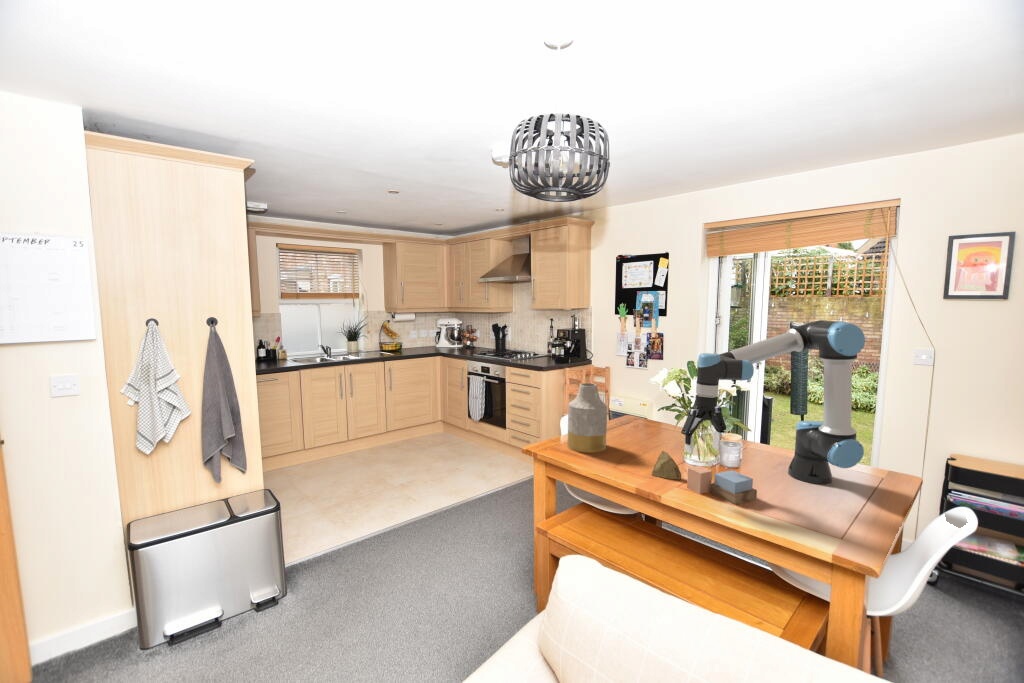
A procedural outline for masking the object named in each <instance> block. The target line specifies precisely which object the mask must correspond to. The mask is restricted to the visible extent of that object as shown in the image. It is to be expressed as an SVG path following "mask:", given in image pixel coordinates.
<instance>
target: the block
mask: <svg viewBox="0 0 1024 683" xmlns="http://www.w3.org/2000/svg"><path fill="white" fill-rule="evenodd" d="M712 476H713V471H712V470H711V469H709V468H706V467H703V466H701V465H695V466H690V467H687V480H686V481H687V482H686V483H687V484H686V489H688V490H689V491H692V492H694V493H697V494H699V495H702V494H705V493H710V484H712V478H713V477H712Z"/></svg>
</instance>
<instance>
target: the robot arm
mask: <svg viewBox="0 0 1024 683" xmlns="http://www.w3.org/2000/svg"><path fill="white" fill-rule="evenodd" d="M865 344H866V336H865V334H864V331H863V330H862V329H861V328H860V327H859V326H858V325H856V324H854V323H851V322H846V321H839V320H838V321H837V320H826V319H825V320H814V321H811V322H807V323H804V324H801V325H798V326H794V327H791V328H789V329H787V331H786V332H785V333H781V334H779V335H776V336H773V337H770V338H767V339H764V340H760V341H757V342H755V343H752V344H751V343H750V344H748V345H744V346H742V347H739V348H736V349H733V350H730V351H727V352H722V353H720V354H719V353H708V352H706V353H705V352H703V353H700V354H699V356H698V359H697V365H696V366H697V370H696V371H697V373H696V388H695V393H696V395H695V399H694V400H695V402H694V404H695V406H696V409H695V408H694V409H693V408H689V410H688V415H687V417H686V420H685V422H684V425H683V426H682V428H681V431H680V433H681V435H684V436H685V439H684V443H685V452H686V453H687V454H690V455H693V454H694V452H693V450H694V438H695V436H693V435H694V433H695V432H696V430H697V429H698V428H699V426H700V425H701V423H703V422H705V421H710V423H711V424H712V426H713V428H714V431H713V437H712V448H713V449H716V450H719V451H720V450H721V440H722V434H724V433H725V431H727V426H726V421H725V419H724V416H723V413H722V412H723V411H722V407H720V406H718V395H719V383H720V381H750V380H751V379H752V378H753V376H754V372H755V371H754V365H753V364H757V363H760V362H763V361H766V360H769V359H773V358H776V357H779V356H781V355H786V354H788V353H791V352H797V353H800V352H804V351H808V350H809V351H810V350H814V351H815V350H816V351H818V359H819V360H820V361H822V363H823V417H822V418H823V419H822V420H823V421H817V420H800V421H798V422H797V424H796V428H795V431H796V432H795V443H794V445H795V446H794V454H793V455H794V456H793V458H792V459H791V462H790V464H789V466H788V470H787V473H788V475H789V476H790V477H792V478H794V479H795V480H800V481H802V482H806V483H810V484H818V485H819V484H821V485H826V484H831V483H832V481H833V475H832V472H831V467H830V464H831V465H832V466H835V467H838V468H840V469H851V468H853V467H855V466H857V464H858V463H860V462H861V461H862V459H863V458H864V453H865V449H864V446H863V445H862V443H861V442H860V441H859V440H857V430H856V429H855V428H854V427H853V426H852V404H853V403H852V399H853V398H852V395H853V394H852V389H853V388H852V387H853V386H852V385H853V381H852V380H853V378H852V377H853V376H852V375H853V374H852V373H853V370H852V369H853V362H855V361H856V360H858V354H860V353H861V352H862V349H864V348H865Z"/></svg>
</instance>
